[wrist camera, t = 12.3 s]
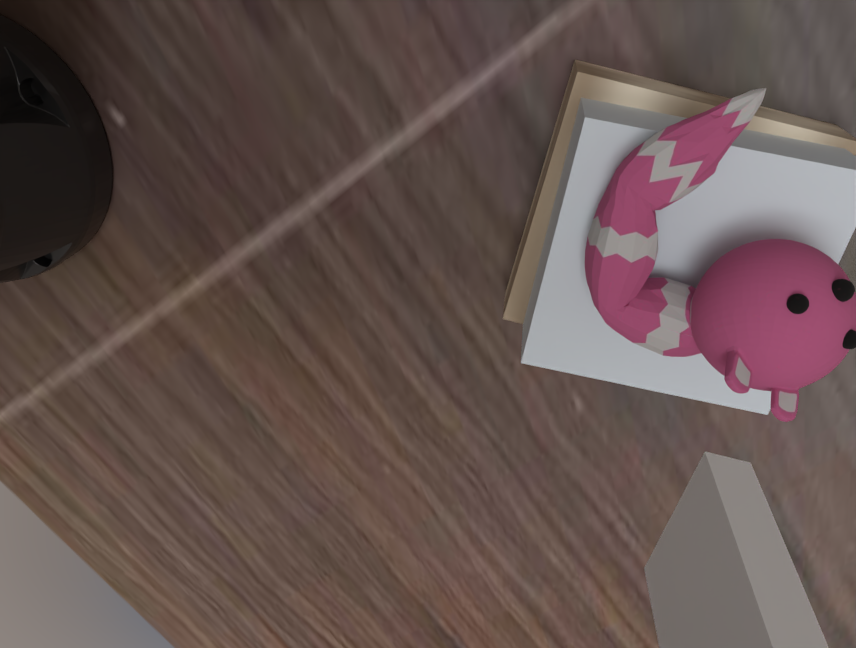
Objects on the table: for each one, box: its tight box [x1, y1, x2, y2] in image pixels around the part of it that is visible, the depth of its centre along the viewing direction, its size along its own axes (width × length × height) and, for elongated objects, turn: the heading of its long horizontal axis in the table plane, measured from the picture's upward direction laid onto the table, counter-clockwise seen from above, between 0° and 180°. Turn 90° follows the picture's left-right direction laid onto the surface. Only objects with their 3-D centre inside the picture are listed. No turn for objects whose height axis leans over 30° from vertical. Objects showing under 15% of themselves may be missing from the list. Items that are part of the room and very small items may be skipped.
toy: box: [585, 88, 856, 422], centre depth 31 cm, size 11×9×10 cm
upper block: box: [521, 98, 856, 415], centre depth 35 cm, size 12×12×4 cm
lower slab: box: [503, 60, 856, 324], centre depth 38 cm, size 13×13×4 cm
